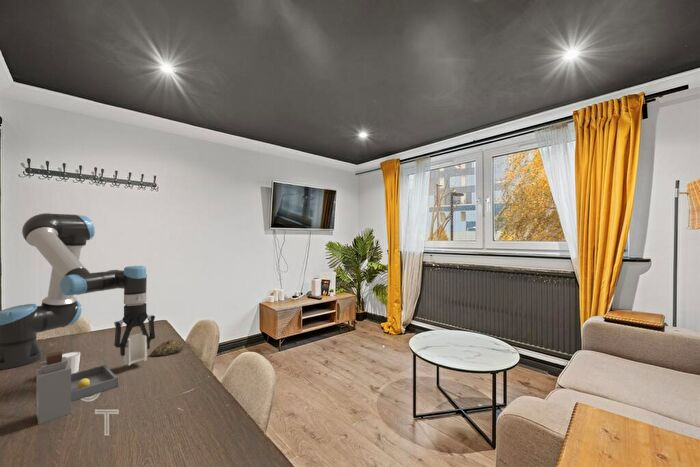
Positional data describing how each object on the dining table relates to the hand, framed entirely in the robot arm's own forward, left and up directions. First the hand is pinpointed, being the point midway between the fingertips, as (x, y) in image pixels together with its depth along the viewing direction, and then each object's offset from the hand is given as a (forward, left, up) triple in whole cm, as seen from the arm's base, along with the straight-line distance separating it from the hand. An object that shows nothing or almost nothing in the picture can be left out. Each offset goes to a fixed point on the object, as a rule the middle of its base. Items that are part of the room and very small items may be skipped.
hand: (135, 360), depth 121 cm
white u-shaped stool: (0, 0, 0) cm, 0 cm away
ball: (+8, -17, 0) cm, 19 cm away
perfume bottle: (+20, -26, -3) cm, 33 cm away
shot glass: (-14, -18, -3) cm, 23 cm away
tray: (+6, -17, -3) cm, 18 cm away
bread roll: (-8, +15, -3) cm, 17 cm away
